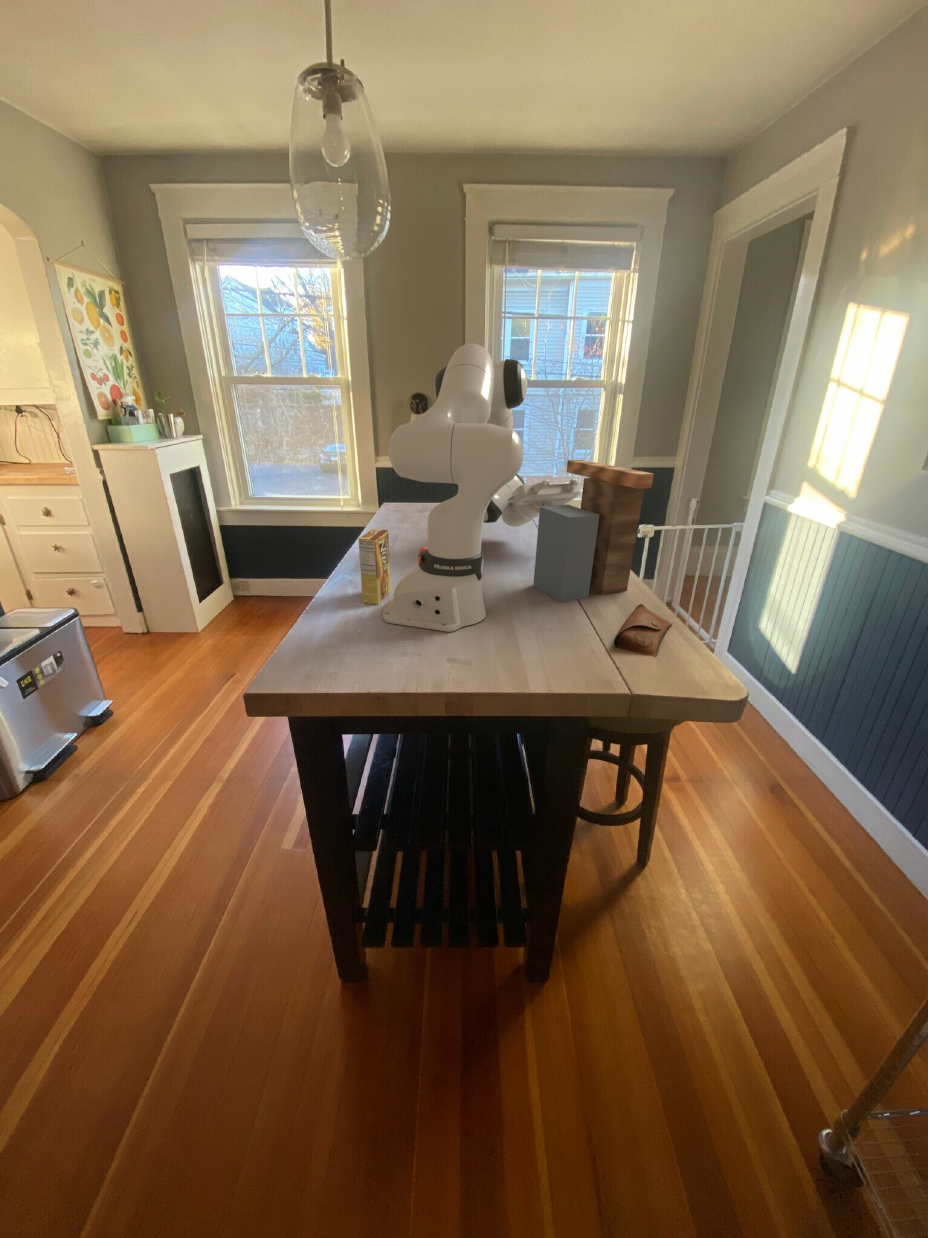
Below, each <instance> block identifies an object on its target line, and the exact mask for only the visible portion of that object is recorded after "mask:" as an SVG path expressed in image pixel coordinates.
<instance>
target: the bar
mask: <svg viewBox="0 0 928 1238" xmlns="http://www.w3.org/2000/svg"><path fill="white" fill-rule="evenodd" d="M566 473H567V474H573V475H576V476H582V477H584V478H593V479H597V480H602V481H606V482H610V483H615V484H619V485H623V486H627V487H632V488H636V489H642V488H644V489H651V488H653V487H652V486H653V481H654V476H655V473H654V472H653V473H652V472H647V471H643V470H642V471H641V470H636V469H631V468H626V467H621V466H614V465H609V464H604V463H599V462H594V461H589V460H583V459H570V460H569V459H568V460H567V463H566Z"/></svg>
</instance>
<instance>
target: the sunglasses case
mask: <svg viewBox="0 0 928 1238" xmlns="http://www.w3.org/2000/svg"><path fill="white" fill-rule="evenodd" d="M672 626H673V623H671V622H670V621H668V620H666V619H665V618H663V617H661V615H658V614H656V613H655V612H653V611H651V609H648V608H647V607H646V606H645V604H643V603H640V604H638V605H637V606H636V607H635V608H634V610H633V611H632V612H631V613H630V615H629V616H628V617H627V618H626V620H625V621H624V622H623V624H622V626H621V627H620V629H619V631H618V632H617V634H616V636H615V637H614V640H613V645H614V646H615V648H616V649H620V650H625V651H628V652H629V651H630V652H633V653H637V654H641V655H645V656H650V657H653V658H656V657H657V656H658V653H659V649H660V646H661V643H662V641H663V640H664V637H665V635H666V633H667V632H668V631H669V629H670V628H671V627H672Z"/></svg>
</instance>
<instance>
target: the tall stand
mask: <svg viewBox="0 0 928 1238" xmlns="http://www.w3.org/2000/svg"><path fill="white" fill-rule="evenodd" d="M582 485H583V486H582V492H581V502H580V507H579V508H580V509H584V510H587V511H590V512H593V513H596V514H599V522H598V529H597V537H596V544H595V551H594V559H593V566H592V573H591V581H590V588H589V590H591V591H593V592H595V593H597V594H599V595H601V596H605V595H608V594H609V595H610V594H615V593H621V592H627V591H628V588H629V587H628V586H629V583H630V582H629V581H630V575H631V570H632V563H633V559H634V552H635V547H636V541H637V536H638V535H637V534H638V528H639V523H640V518H641V517H640V516H641V511H642V506H643V500H644V499H643V498H644V495H645V494H644V493H645V488H642V489H636V488H632V487H627V486H623V485H619V484H615V483H610V482H606V481H602V480H597V479H593V478H589V477H584V478H583V484H582Z"/></svg>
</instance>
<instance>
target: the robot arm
mask: <svg viewBox="0 0 928 1238" xmlns="http://www.w3.org/2000/svg"><path fill="white" fill-rule="evenodd" d="M488 351H489V350H487V349H486V348H485V347H484V346H483V345H480V344H479V343H478V344H477V343H465V344H463V345H461V346H459V347H458V348H457V349H456V350H455V352H454V353H453V354H452V356H451V357H450V359H449V361H448V363H447V365H446V366H444V367H442V368H441V369H440V370H439V371H438V372H437V374H436V375H435V382H434V395H435V402H434V404H433V405H432V406H430V407H429V409H428V410H426V411H425V412H424V413H422V414H420V415H419V417H417V418H415V419H413V420H411V421H409V422H407V423H403V424H401V425H398V426H397V428H395V430H394V431H393V433H392V435H391V437H390V440H389V443H388V458H389V462H390V464H391V466H392V469H394V471H395V472H396V474H397V475H398V476H399V477H401V478H404V479H409V480H412V481H417V482H421V483H438V484H440V483H441V484H453V485H454V484H455V485H458V486H457V487H458V490H457V493H456V495H455V496H453V497H451V498H448V499H446V500H444V501H442V502H439V503H438V504H437V505H435V506H434V507H433V508H432V509H431V510H430V511H429V513H428V516H427V546H425V545H424V546H421V548H420V550H419V552H418V553H419V554H418V557H417V558H418V559H417V561H418V567H416V569H414V570H412V572H410V573H409V574H407V575H406V576H403V578H402V579H400V581H399V582H398V583H397V585H396V586H395V589H394V593H393V597H392V598H390V600H389V601H388V602H386V604H385V605H384V608H383V610H382V619H383V620H384V622H385V623H388V624H395V625H400V626H401V625H402V626H408V627H414V628H420V629H428V630H436V631H440V632H448V633H450V632H454V631H457V630H459V629H461V628H463V627H467V626H470V625H471V626H472V625H474V624H477V623H479V622H481V621H483V620H484V619H485V618H486V616H487V610H486V607H485V602H484V597H483V589H482V588H483V587H482V578H483V575H484V574H483V573H484V553H483V551H482V540H483V538H482V536H483V527H484V523H485V524H491V523H492V524H493V523H497V521H498V520H499V519H500V517H501V519H502V521H503V522H504V524H505V525H507V526H509V527H512V528H513V527H514V528H515V527H516V528H517V527H521V526H523V525H526V524H528V523H530V522H531V521H532V520H534V519H535V518H537V517H539V512H540V507H542V506H554V505H566V504H569V503H570V502H571V501H573V500H574V499H575V498H577V497H578V496H580V494H581V487H580V483H579V480H578V478H572V479H570V480H569V481H564V482H550V480H548V479H547V480H542V481H540V482H538V483H530V484H529V483H528V484H526V483H525V481H524V479H523V478H522V477H521V476H520V475H519V472H520V470H521V468H522V466H523V462H524V446H523V443H522V440H521V438H520V436H519V434H518V433H517V431H515V429H513V428H514V414H513V409H515V408H517V407H519V406H520V405H521V404H522V403H523V402H524V400H525V399H526V398H525V397H526V394H527V391H528V377H527V372H526V371H525V369H524V365H523V364H522V363H521V362H520V361H519V360H516V359H511V358H510V359H509V358H505V360H493V359H492V356H491V354H490V352H488Z"/></svg>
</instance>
